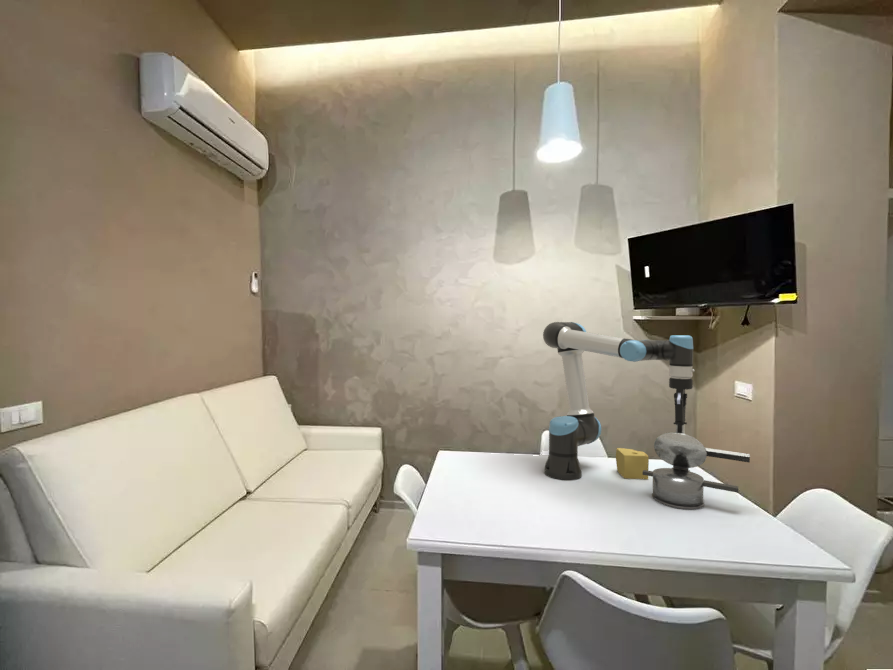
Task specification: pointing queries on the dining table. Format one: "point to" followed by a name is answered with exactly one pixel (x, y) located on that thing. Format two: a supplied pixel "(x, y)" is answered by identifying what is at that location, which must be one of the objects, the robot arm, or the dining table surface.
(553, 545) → the dining table surface
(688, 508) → the pot
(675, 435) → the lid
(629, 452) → the cheese
